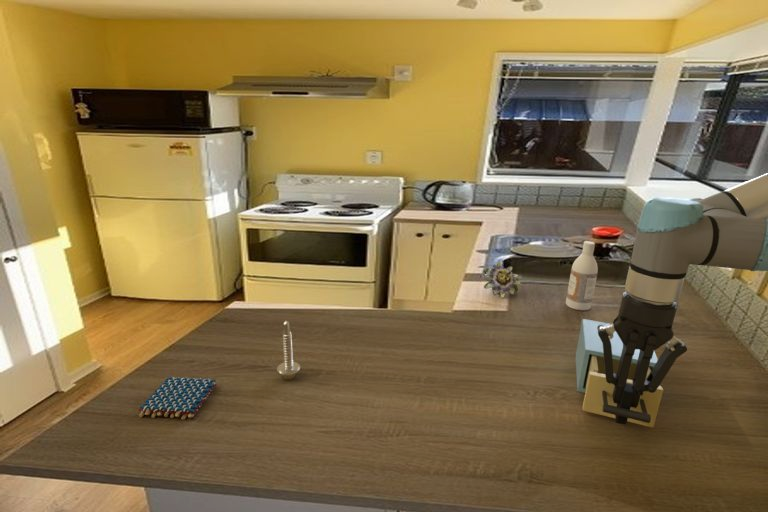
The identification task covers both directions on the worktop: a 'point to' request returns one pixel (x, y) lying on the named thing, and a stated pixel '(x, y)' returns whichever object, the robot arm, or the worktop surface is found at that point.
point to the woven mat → (178, 397)
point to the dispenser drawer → (601, 394)
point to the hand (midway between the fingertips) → (620, 418)
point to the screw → (288, 356)
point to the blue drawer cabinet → (598, 350)
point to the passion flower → (501, 280)
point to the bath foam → (582, 279)
